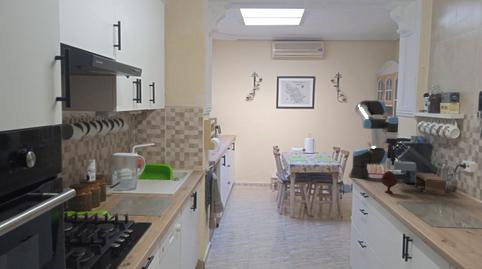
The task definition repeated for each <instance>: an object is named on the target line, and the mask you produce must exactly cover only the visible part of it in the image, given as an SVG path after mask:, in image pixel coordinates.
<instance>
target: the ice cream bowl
mask: <svg viewBox="0 0 482 269" xmlns="http://www.w3.org/2000/svg"><path fill="white" fill-rule="evenodd" d="M380 181H381V183H382V185H383V186H385V187H386V188H387V190H385V191H384V194H388V195H389V194H390V195H392V194H393V193H394V192H393V191H392V190H391V187H395V186H396V185H397V184H398V182H399V180H398V178H396V177H395V176H394V173H393V172H392V170H386V171H385V172H384V173H383V175H382V176H381V177H380Z"/></svg>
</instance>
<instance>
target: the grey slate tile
mask: <svg viewBox="0 0 482 269" xmlns="http://www.w3.org/2000/svg"><path fill="white" fill-rule="evenodd" d="M390 162H391V161H387V160H386V166H385V167H386V168H387V169H388V171H391V170H390ZM393 171H406V172H407V171H408V172H409V171H412V172H416V171H417V163H416V162H414V161H398V160H397V161H396V160H395V168H394V170H393Z"/></svg>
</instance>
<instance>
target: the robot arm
mask: <svg viewBox="0 0 482 269" xmlns="http://www.w3.org/2000/svg"><path fill="white" fill-rule="evenodd" d="M386 112H387V107H386V104H385V101H383V100H378V99H377V100H370V99H369V100H366V99H365V100H362V101H360V102H358V103H357V104H356V106H355V113H356V114H357V115H358V116H360V118H361V119H362V122H361V123H362V128H363V129H367V130H370V136H371V137H370V138H371V140H370V141H371V146H370V147H369V149H368V148H356V149H354V150H353V151H352V167H351V171H350V173H349V176H350V178H356V179H368V178H370V173H369V168H368V165H374V166H375V165H378V166H379V165H385V164H386V163H387V161H391V162H390V170H389V171H395V170H394V168H395V161H396V160H397V157H396V156H397V155H396V154H397V153H396V147H397V146H395V144H396V145H398V141H399V140H398V137H399V135H400V134H399V117H398V116H387V118H383V117H384V115H386ZM383 130H386V140H385V141H386V142H385V143H386V144H387V150H385V147H383Z"/></svg>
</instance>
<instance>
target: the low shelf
mask: <svg viewBox="0 0 482 269" xmlns="http://www.w3.org/2000/svg"><path fill="white" fill-rule="evenodd" d="M446 181H447V180H446V179H444V178H443V177H441V176H439V175H438V174H435V173H432V172H429V173H428V172H415V184H414V186H415V187H416V186H418V187H417V188H418V189H423V191H422V192H423V193H424V194H425V195H435V196H437V195H439V196H441V195H442V196H446V185H447V184H446V183H447V182H446Z"/></svg>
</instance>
